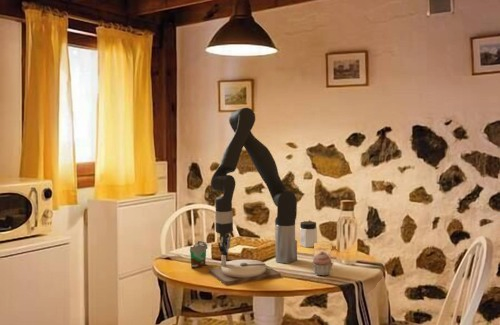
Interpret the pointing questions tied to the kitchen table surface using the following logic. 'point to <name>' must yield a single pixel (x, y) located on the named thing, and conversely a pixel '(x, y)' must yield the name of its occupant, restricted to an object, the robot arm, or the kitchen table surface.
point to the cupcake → (322, 264)
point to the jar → (308, 234)
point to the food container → (198, 255)
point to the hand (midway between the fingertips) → (225, 260)
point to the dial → (242, 268)
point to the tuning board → (234, 280)
